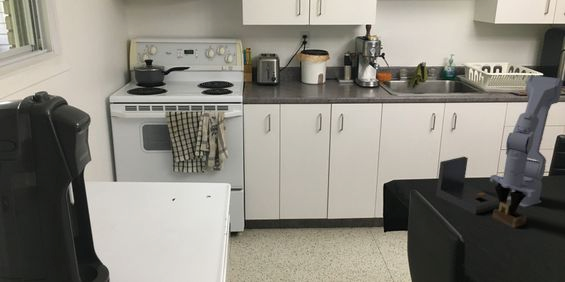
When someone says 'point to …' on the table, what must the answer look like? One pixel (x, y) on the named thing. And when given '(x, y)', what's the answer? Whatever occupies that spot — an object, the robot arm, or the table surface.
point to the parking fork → (510, 218)
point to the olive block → (505, 206)
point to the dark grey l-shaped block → (462, 188)
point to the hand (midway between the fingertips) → (507, 209)
